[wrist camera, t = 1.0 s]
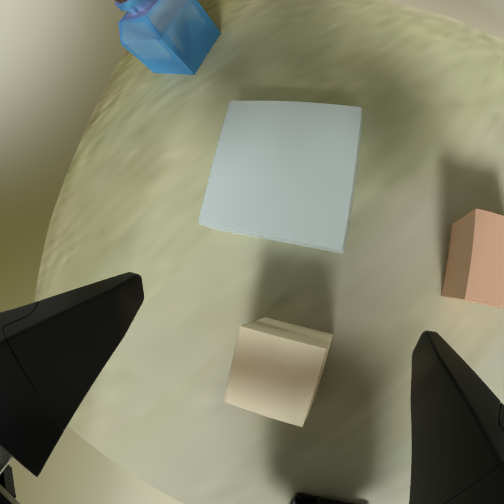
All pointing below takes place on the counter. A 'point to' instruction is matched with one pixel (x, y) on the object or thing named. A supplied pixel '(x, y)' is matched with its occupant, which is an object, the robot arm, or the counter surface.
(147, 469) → the counter surface
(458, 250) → the terracotta cube
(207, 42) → the perfume bottle
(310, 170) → the blue-grey slab
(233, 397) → the birch cube
